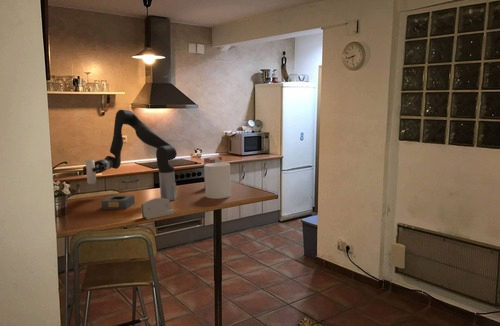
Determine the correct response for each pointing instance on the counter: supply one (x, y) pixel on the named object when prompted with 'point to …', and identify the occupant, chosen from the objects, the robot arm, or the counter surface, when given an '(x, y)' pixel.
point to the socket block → (118, 202)
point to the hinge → (156, 208)
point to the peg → (90, 171)
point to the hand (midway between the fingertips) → (88, 170)
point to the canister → (217, 180)
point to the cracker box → (212, 161)
